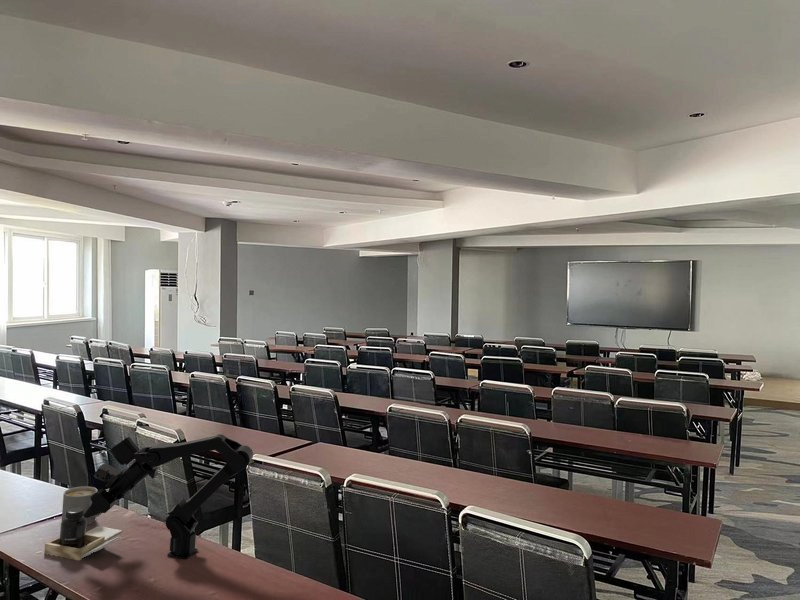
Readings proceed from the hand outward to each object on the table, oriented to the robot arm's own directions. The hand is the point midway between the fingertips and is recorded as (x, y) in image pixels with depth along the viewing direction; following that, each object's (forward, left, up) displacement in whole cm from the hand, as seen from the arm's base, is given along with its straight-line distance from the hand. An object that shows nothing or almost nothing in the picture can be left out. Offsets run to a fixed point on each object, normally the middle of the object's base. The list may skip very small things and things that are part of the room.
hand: (91, 510), depth 173 cm
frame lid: (-5, +1, -12) cm, 13 cm away
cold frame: (+4, +1, -12) cm, 13 cm away
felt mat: (+5, -10, -12) cm, 16 cm away
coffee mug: (+17, -16, -12) cm, 26 cm away
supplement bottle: (+5, +1, -12) cm, 13 cm away
